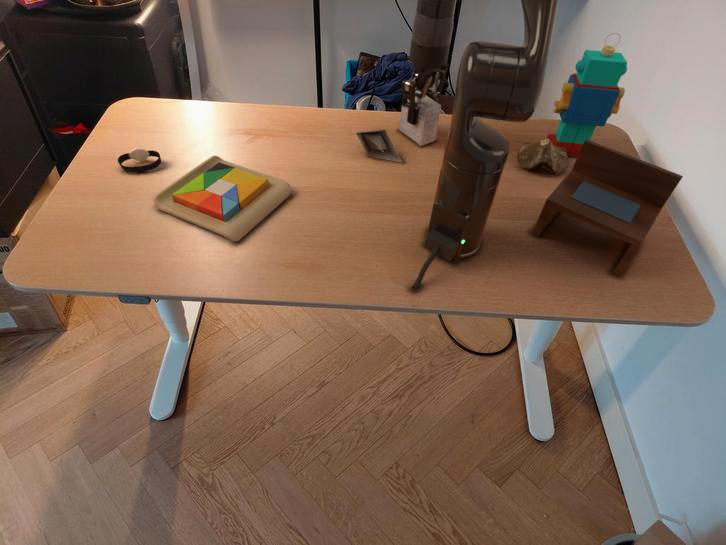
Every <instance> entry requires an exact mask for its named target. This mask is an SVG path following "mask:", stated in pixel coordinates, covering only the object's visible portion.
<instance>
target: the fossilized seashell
mask: <svg viewBox="0 0 726 545" xmlns="http://www.w3.org/2000/svg"><path fill="white" fill-rule="evenodd" d="M566 151H567V149H566V148H562V147H558V146H556V145H553V144H552V142H551V141H550V140H549V139H547V138H543V139H542V140H540V141H537V142H529V141H523V142H522V146H521V147H520V148H519V149H518V151H517V153H516V159H517V161H518V164H519V166H521V168H523V169H525V170H532V169H537V168H540V167H542V168H543V169H545V170H547V171H548V172H549V173H551V174H555V175H556V174H557V175H558V174H561V173H563V172H564V171H565V170H566V169H567V168H568V166H569V163H570V161H569V156H567V153H566Z"/></svg>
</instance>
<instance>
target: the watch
mask: <svg viewBox="0 0 726 545" xmlns="http://www.w3.org/2000/svg"><path fill="white" fill-rule="evenodd" d="M149 157H154V158H157V159H156V160H155V161H153V162H152V163H149V164H145V165H134V166H127V165H123V163H124V162H126V161H128V160H134V161H139V162H141V161H142V162H143V161H146V160H147V159H148V158H149ZM117 163H118V164H119V167H120V168H121V169H122V170H123V171H125V172H127V173H133V174H134V173H135V174H141V173H145V172H149V171H152V170H154V169H157V168H158V167H159V166H160V165H161V164H162V157H161V154H160V152H158V151H157V150H147V149H146V148H143V147H135V148H133V149H131V150H130V152H127V153H124V154H121V155H119V157H118V158H117Z"/></svg>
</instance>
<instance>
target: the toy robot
mask: <svg viewBox="0 0 726 545" xmlns="http://www.w3.org/2000/svg"><path fill="white" fill-rule="evenodd" d="M615 34H616V35H618V36H619V38H621V35H620V33H618V32H612V33H610V34H609V35H608V36H607V37H606V38H605V39H604V46H603V47H602V49H601V50H595V49H594V50H593V49H584V52H583V55H582V57H581V59H580V60H578V61H577V62H576V64H575V71H576V72H575V73H574V72H573V73H572V74H570V75H569V77H568V80H567V81H566V82H564V83H563V85H562V89H561V93H562V94H561V97H560V98H559V100H555V101H554V103H553V105H554V108H553V109H552V113H553V114H558V115H559V117H560V121H559V124H558V125H557V129H556V131H555V133H549V134H547V136H546V139H549V140H550V141H551V142H552V144H553V145H556V146H558V147H562V148H566V149H567V151H566V153H567V156H568V157H574V158H577V157H578V155H579V152H580V150H581V148H582V146H583V143H584V141H585V140H586V139H587V140H590V141H591V139H592V136H593V134H594V133H595V129H596V127H605V125H606V124H607V122H608V120H609V118H611V116H612V115H613V114H614V115H617V114H618V113H619V110H620V104H621V100H622V99H623V97H624V95H625V91H626V89H625V87H619V85H618V84H619V83H620V80H621V78H622V77H623V76H624V75H625V74H626V73H627V71H628V61H627V59H626V58H625V56H624V55H623V54H622V52H617V51H616V48H615V47H617V46H618V44H619V43H620V42H621V39H619V40H618V42H617V43H616V44H615V45H613V46H611V45H607V43H606V42H607V39H608V38H609V37H610V36H611V35H615Z"/></svg>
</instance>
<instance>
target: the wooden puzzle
mask: <svg viewBox="0 0 726 545" xmlns="http://www.w3.org/2000/svg"><path fill="white" fill-rule="evenodd" d="M291 194H292V186H291V184H290V183H289V182H287V180H284V179H281V178H278V177H274V176H272V175H268V174H266V173H263V172H261V171H260V172H259V171H257V170H254V169H251V168H248V167H244V166H241V165H238V164H235V163H233V162H230V161H226V160H225V159H223V158H222V157H221V156H219V155H212V156H210V157H209V158H207V159H206V160H204V161H202V162H201V163H199V164H198V165H197V166H195V167H194V168H193V169H191V170H190V171H188V172H187V173H185V174H183V175H182V176H181V177H179V178H178V179H176V180H175V181H174V182H172V183H171V184H170V185H168V186H166V187H165V188H163V189H162V190H161V191H159V192H157V193H156V194H155V195H154V197H153V203H154V206H155V208H157V209H158V210H160V211H161V212H163V213H167V214H169V215H172V216H174V217H176V218H178V219H181V220H183V221H186V222H188V223H191V224H194V225H196V226H199V227H201V228H203V229H206V230H209V231H211V232H213V233H216V234H217V235H220V236H223V237H224V238H226V239H227V240H228V241H231V242H239V241H241V239H242V238H243V237H245V236H246V235H247V234H248V233H250V232H251V231H252V230H253V229H254V228H255V227H257V225H259V223H260V222H262V221H263V220H265V219H266V217H267V216H269V215H270V214H271V213H272V212H273V211H275V209H276V208H278V207H279V206H280V205H281V204H282V203H283V202H284V201H286V200H287V199H288V197H289V196H291Z"/></svg>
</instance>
